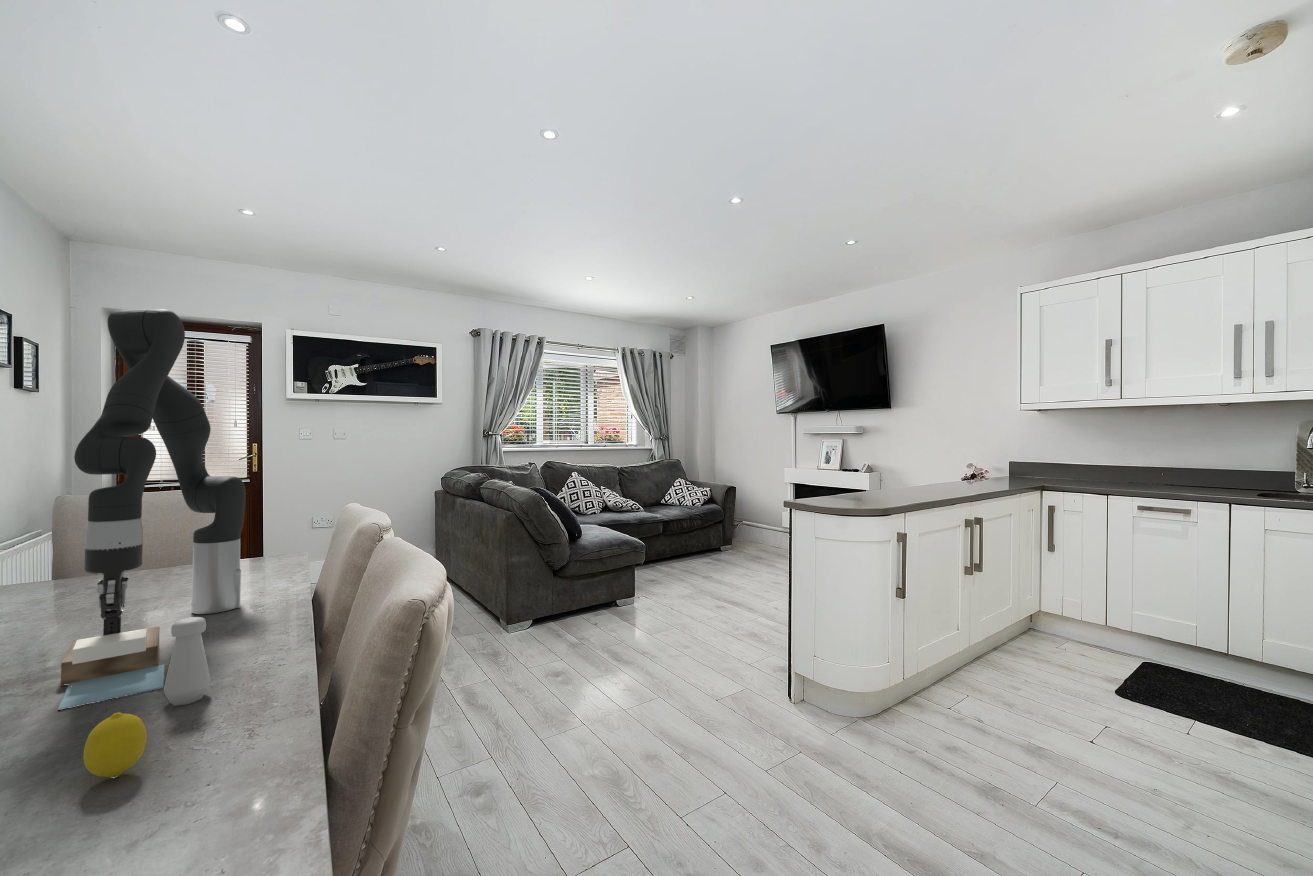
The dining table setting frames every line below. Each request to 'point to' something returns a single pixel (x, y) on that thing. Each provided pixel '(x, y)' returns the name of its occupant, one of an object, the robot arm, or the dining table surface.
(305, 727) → the dining table surface
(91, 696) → the mat
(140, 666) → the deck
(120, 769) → the lemon
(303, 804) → the dining table surface
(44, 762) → the dining table surface
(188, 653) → the salt shaker
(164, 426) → the robot arm
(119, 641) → the white bevelled block
